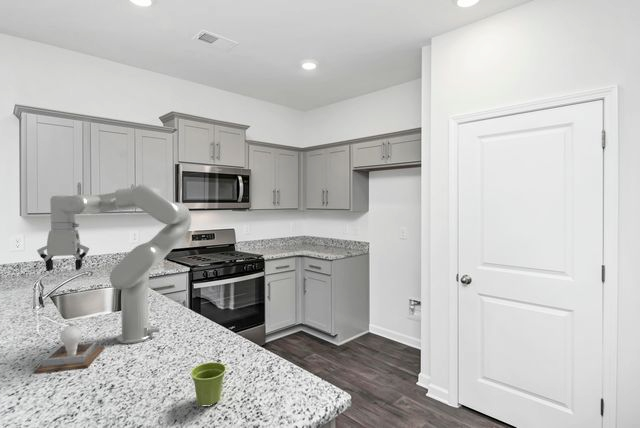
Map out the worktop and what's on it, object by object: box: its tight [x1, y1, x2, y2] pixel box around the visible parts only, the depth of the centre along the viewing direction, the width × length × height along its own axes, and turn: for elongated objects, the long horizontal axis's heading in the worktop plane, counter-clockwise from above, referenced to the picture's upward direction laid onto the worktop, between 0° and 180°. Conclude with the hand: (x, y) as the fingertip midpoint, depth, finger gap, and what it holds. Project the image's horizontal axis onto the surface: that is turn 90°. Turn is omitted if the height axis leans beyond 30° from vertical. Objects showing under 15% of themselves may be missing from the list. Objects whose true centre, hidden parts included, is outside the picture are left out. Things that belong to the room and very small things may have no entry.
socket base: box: [33, 345, 105, 374], centre depth 117 cm, size 15×15×1 cm
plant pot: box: [190, 361, 227, 406], centre depth 93 cm, size 9×9×9 cm
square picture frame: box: [41, 341, 99, 368], centre depth 117 cm, size 12×12×2 cm
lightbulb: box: [59, 325, 83, 356], centre depth 117 cm, size 6×6×11 cm
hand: (64, 269), depth 133 cm, fingers open, 9 cm apart
